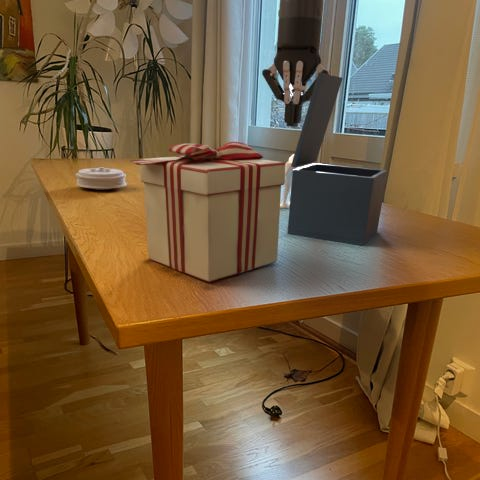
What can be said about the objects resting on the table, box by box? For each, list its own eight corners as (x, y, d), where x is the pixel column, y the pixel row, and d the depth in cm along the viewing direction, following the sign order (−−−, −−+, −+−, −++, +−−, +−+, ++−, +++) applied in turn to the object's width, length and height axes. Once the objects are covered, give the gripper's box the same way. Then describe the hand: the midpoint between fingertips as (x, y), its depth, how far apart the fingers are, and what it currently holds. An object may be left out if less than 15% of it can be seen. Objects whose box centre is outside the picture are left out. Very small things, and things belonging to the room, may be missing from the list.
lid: (66, 188, 122) (64, 168, 120) (97, 182, 133) (96, 163, 131) (107, 194, 118) (105, 173, 116) (136, 187, 129) (135, 168, 127)
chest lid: (342, 77, 88) (339, 76, 88) (322, 73, 78) (318, 72, 78) (316, 161, 96) (312, 160, 96) (294, 167, 85) (290, 166, 86)
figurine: (289, 203, 118) (293, 152, 113) (303, 206, 115) (308, 154, 110) (272, 207, 113) (276, 153, 107) (287, 210, 110) (292, 155, 105)
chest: (377, 231, 95) (387, 170, 90) (363, 246, 85) (373, 178, 80) (308, 221, 101) (314, 163, 96) (287, 233, 91) (292, 169, 86)
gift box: (199, 238, 85) (199, 135, 78) (283, 262, 74) (293, 145, 67) (120, 258, 73) (113, 138, 66) (208, 290, 62) (210, 151, 55)
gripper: (343, 20, 82) (331, 128, 90) (273, 22, 87) (267, 123, 95) (331, 13, 76) (319, 129, 83) (256, 15, 81) (251, 124, 89)
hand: (291, 126), depth 89 cm, fingers closed
